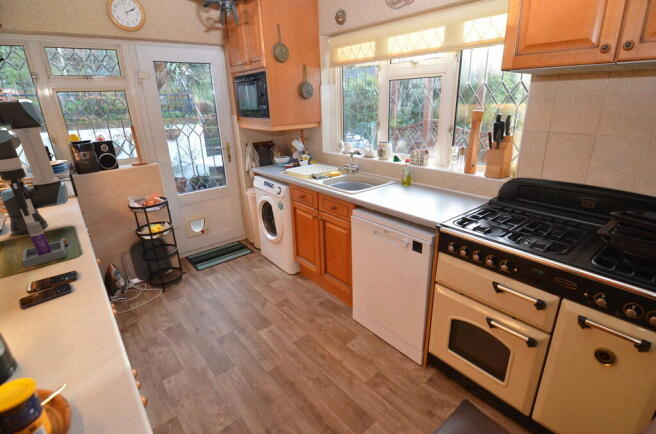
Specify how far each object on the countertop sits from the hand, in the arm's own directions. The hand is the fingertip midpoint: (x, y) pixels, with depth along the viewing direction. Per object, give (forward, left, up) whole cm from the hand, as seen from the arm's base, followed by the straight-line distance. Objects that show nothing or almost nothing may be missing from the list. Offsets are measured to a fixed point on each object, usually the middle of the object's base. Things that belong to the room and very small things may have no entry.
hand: (31, 218), depth 140 cm
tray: (0, 0, -18) cm, 18 cm away
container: (0, 0, -18) cm, 18 cm away
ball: (-9, +7, -18) cm, 21 cm away
